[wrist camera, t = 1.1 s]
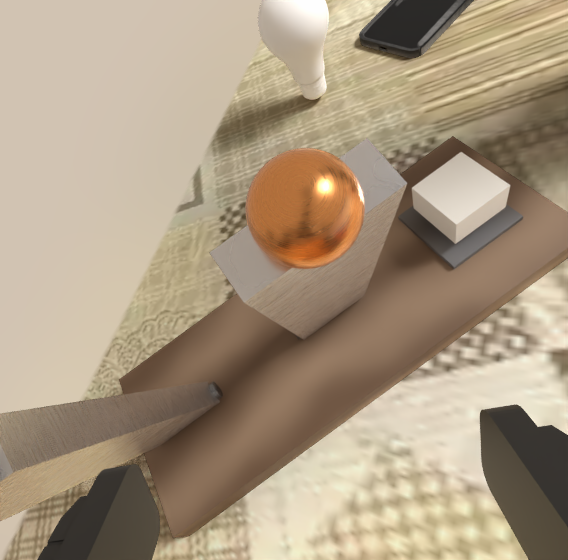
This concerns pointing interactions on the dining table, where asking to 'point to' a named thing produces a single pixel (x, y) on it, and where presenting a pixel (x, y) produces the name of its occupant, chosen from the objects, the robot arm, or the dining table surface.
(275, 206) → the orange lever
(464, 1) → the phone
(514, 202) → the walnut panel
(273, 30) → the lightbulb
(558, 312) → the dining table surface
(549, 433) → the robot arm
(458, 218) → the white button
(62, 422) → the grey upright post
